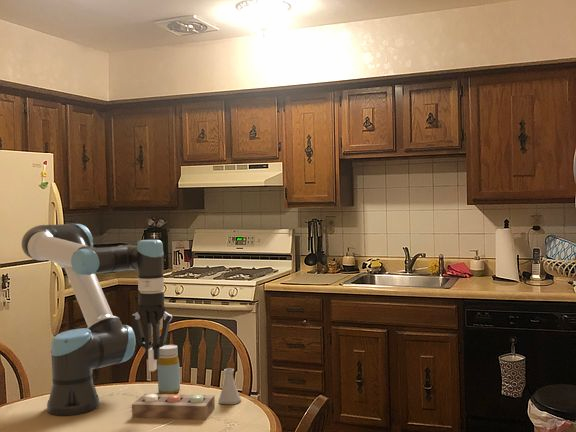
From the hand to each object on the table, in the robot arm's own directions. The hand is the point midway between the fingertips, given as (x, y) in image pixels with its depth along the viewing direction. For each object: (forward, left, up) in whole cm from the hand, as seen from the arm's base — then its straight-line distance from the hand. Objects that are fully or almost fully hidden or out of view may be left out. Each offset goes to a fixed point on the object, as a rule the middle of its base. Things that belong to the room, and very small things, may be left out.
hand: (152, 369), depth 185 cm
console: (+7, +1, -12) cm, 14 cm away
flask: (+16, +17, -13) cm, 26 cm away
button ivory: (0, -1, -11) cm, 11 cm away
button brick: (+7, +1, -11) cm, 13 cm away
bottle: (-8, +17, -13) cm, 23 cm away
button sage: (+13, +3, -11) cm, 18 cm away
